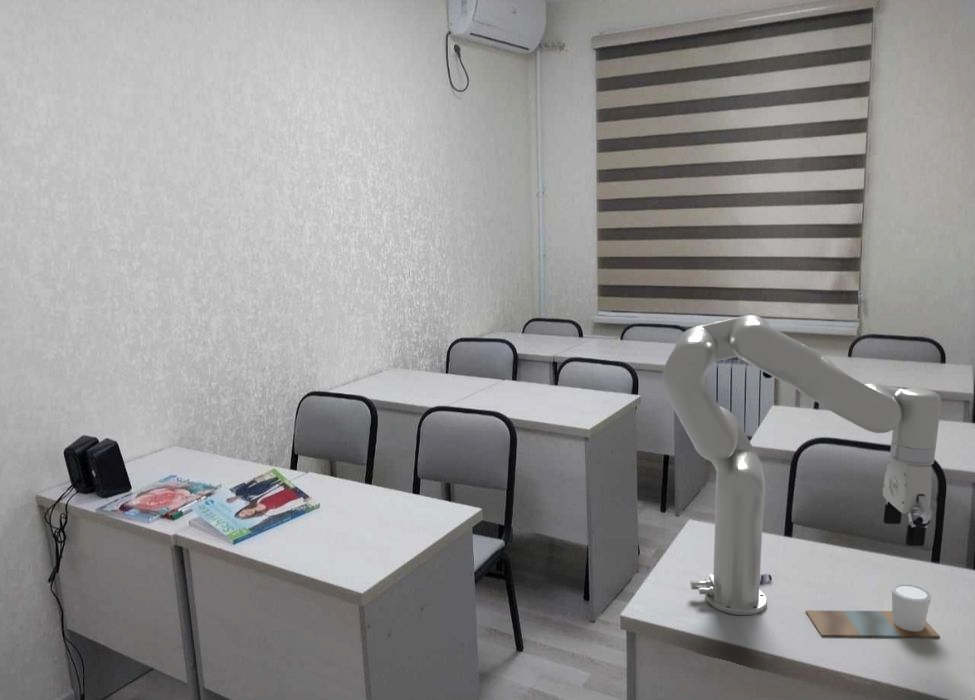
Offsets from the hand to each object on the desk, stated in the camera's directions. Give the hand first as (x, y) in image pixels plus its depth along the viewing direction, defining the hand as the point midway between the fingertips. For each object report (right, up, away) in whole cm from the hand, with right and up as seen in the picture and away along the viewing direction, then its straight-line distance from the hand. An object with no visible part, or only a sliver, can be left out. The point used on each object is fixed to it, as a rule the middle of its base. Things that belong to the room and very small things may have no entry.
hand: (902, 533), depth 149 cm
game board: (-5, -19, +2) cm, 20 cm away
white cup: (+2, -19, +2) cm, 19 cm away
